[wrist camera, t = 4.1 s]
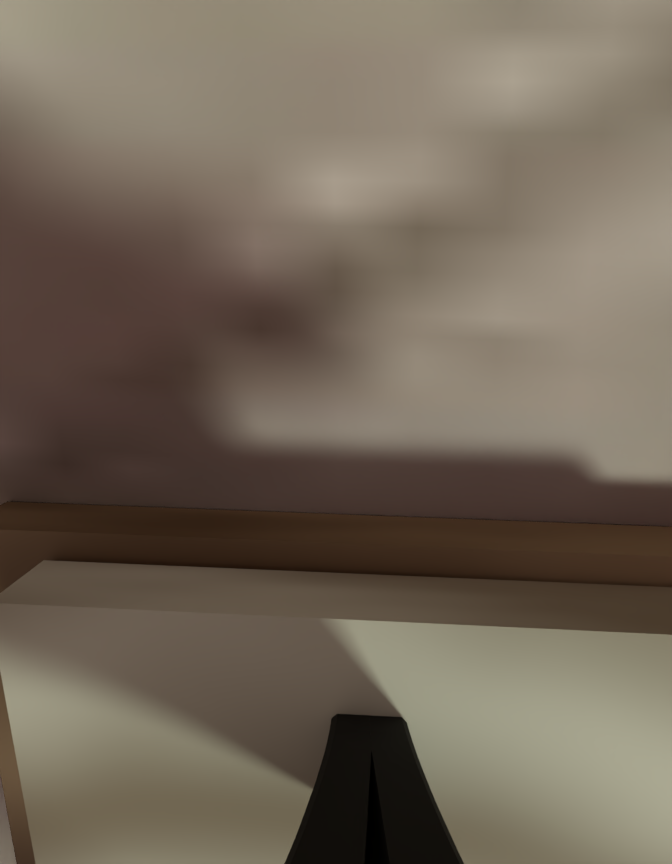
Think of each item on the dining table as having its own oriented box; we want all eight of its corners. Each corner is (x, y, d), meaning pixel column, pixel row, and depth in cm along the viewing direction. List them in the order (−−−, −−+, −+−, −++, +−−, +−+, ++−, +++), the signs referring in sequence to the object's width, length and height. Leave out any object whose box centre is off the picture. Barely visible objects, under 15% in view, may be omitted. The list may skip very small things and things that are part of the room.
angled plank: (625, 966, 12) (664, 1058, 10) (97, 927, 12) (61, 1008, 11) (720, 589, 9) (790, 640, 8) (43, 560, 10) (-13, 602, 8)
